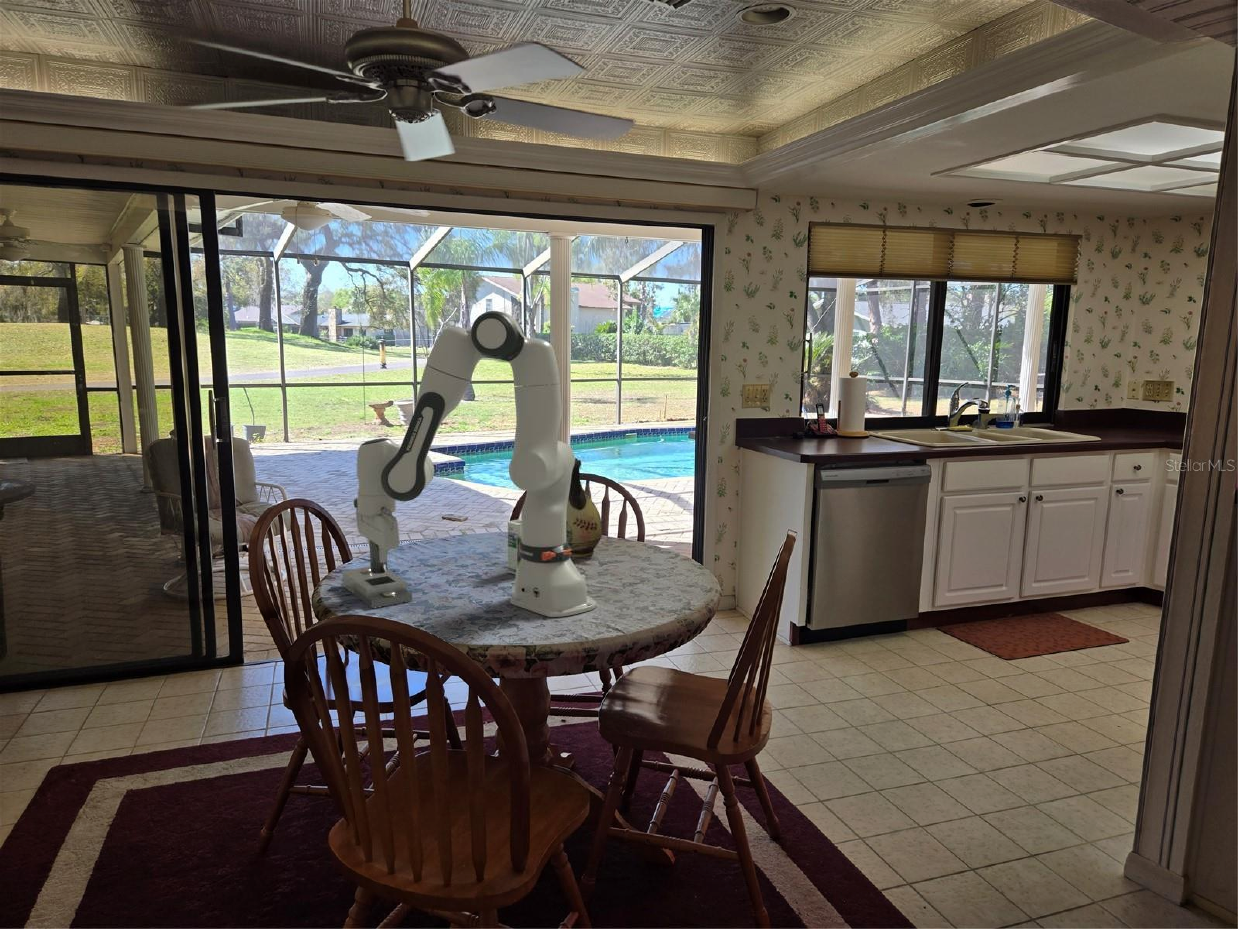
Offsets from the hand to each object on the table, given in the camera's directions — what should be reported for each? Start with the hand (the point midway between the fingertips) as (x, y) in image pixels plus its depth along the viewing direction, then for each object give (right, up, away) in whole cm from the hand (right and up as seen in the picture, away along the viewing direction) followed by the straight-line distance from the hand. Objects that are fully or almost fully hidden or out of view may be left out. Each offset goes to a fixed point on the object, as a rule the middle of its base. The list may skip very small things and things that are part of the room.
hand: (378, 559), depth 191 cm
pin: (0, -3, 0) cm, 3 cm away
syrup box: (+33, -7, +23) cm, 40 cm away
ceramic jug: (+47, -4, +42) cm, 63 cm away
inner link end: (+1, -10, 0) cm, 10 cm away
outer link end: (-3, -9, +5) cm, 10 cm away
